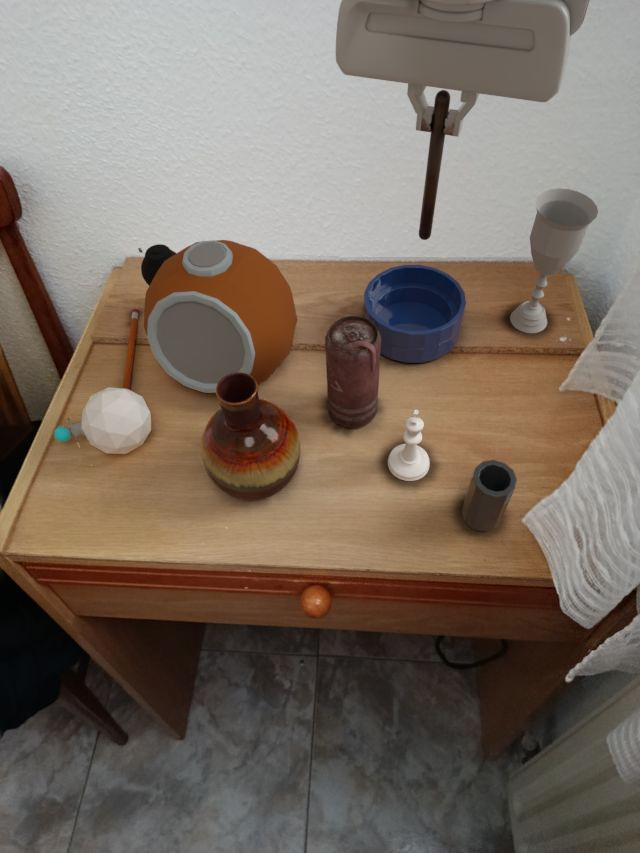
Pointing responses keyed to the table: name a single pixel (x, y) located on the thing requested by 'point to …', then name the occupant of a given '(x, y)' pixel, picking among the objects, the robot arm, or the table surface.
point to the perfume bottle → (111, 421)
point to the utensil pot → (488, 495)
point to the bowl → (415, 312)
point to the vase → (249, 441)
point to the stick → (434, 163)
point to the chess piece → (410, 453)
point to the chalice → (553, 246)
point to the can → (352, 370)
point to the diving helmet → (219, 314)
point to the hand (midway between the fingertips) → (438, 130)
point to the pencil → (130, 349)
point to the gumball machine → (154, 260)
